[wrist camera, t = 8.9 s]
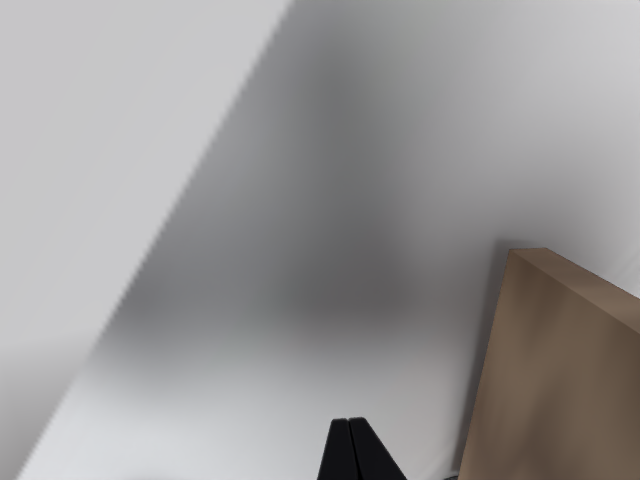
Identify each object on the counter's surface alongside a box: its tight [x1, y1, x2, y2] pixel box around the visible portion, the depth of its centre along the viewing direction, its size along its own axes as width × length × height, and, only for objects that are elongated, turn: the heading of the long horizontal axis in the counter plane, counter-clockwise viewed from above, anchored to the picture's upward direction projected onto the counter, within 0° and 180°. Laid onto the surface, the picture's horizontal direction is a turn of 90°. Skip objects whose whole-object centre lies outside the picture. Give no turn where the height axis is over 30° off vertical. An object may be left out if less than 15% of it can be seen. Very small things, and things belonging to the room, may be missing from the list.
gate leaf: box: [458, 248, 640, 480], centre depth 10 cm, size 12×1×5 cm, turn 1°
